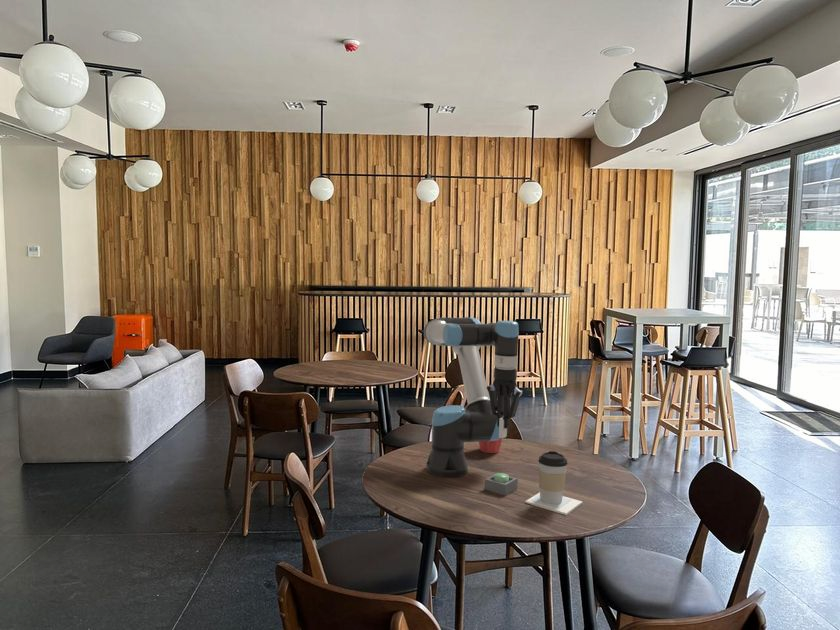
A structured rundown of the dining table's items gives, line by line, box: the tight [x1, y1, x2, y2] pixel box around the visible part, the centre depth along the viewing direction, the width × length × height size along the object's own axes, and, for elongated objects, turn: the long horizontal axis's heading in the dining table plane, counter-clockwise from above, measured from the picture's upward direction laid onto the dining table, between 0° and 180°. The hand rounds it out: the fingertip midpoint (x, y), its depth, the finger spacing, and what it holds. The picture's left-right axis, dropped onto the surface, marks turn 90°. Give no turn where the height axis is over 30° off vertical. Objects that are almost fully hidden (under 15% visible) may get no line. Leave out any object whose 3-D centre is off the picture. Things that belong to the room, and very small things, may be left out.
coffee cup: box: [538, 450, 568, 504], centre depth 192 cm, size 9×9×15 cm
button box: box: [484, 474, 519, 496], centre depth 202 cm, size 8×8×4 cm
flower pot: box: [478, 438, 503, 454], centre depth 243 cm, size 11×11×10 cm
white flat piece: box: [524, 491, 583, 516], centre depth 192 cm, size 14×12×1 cm
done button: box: [493, 472, 509, 483], centre depth 202 cm, size 5×5×4 cm
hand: (502, 436), depth 201 cm, fingers closed
